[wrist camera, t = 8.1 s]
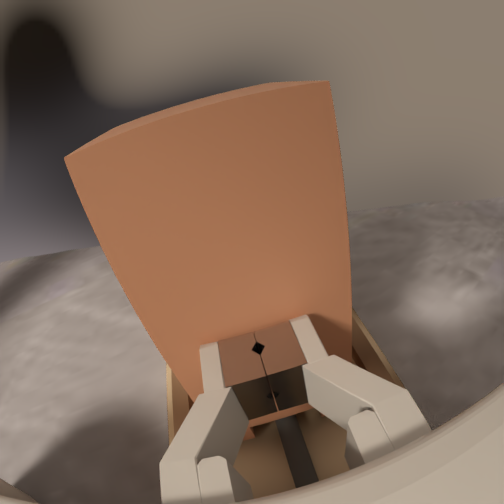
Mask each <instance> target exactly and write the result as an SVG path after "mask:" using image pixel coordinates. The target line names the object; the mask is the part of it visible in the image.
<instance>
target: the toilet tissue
mask: <svg viewBox="0 0 504 504" xmlns="http://www.w3.org/2000/svg"><path fill="white" fill-rule="evenodd" d="M0 495H2V496H6V497H10V498H14V499H18V500H22V501H27V502H32V503H37V504H39V503H38V502H37V501H35V500H34V499H33V498H32V497H30V496H29V495H28V494H26V493H24V492H22V491H20V490H19V489H17V488H15V487H13V486H12V485H10V484H8V483H7V482H5V481H4V480H2V479H0Z"/></svg>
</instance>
